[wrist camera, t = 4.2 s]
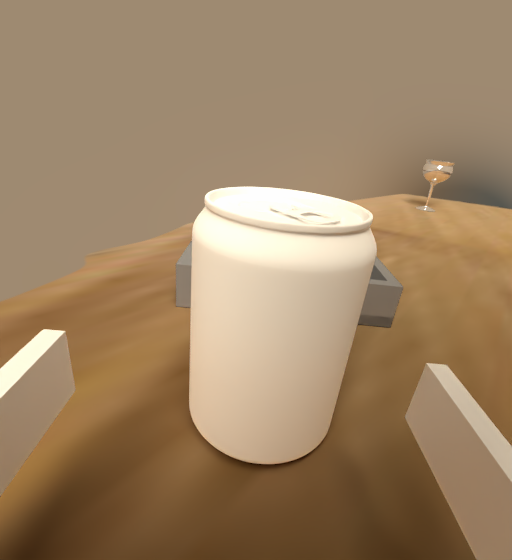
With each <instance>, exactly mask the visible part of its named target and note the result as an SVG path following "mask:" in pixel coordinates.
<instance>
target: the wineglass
mask: <svg viewBox="0 0 512 560" xmlns="http://www.w3.org/2000/svg"><path fill="white" fill-rule="evenodd" d="M426 161H427V163H426V165H425V166H424V168H423V175H424V176H425V178H426V179H427V180H428V181H430V184H431V188H430V192H429V195H428V199H427V202H426V206H419V207H415V208H417V209H420V210H424V211H435V210H434V209H432V208H430V207H428V206H427V205H428V202H429V199H430V196H431V194H432V191H433V188H434V186H435V185H436V184H437V183H439V182H442V181H445V180H446V179H448V178H449V177H450V175H451V174H452V172H453V165H454V164H455V163H452V162H444V161H437V160H426Z"/></svg>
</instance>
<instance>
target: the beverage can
mask: <svg viewBox="0 0 512 560" xmlns="http://www.w3.org/2000/svg"><path fill="white" fill-rule="evenodd" d="M205 205H206V206H205V208H204V209H203V210H202V212H201V213H200V214H199V215H198V217H197V218H196V220H195V222H194V225H193V229H192V268H191V324H190V380H189V408H190V413H191V417H192V420H193V422H194V424H195V426H196V428H197V429H198V431H199V432H200V433H201V435H202V436H203V437H204V438H205V439H206V440H207V441H208V442H209V443H210V444H211V445H212V446H214V447H215V448H216V449H218V450H219V451H221V452H223V453H225V454H226V455H228V456H231V457H233V458H236V459H238V460H242V461H245V462H250V463H256V464H279V463H285V462H289V461H292V460H295V459H298V458H300V457H302V456H304V455H306V454H308V453H309V452H311V451H312V450H313V449H315V448H316V447H317V446H318V445H319V444H320V443H321V442H322V440H323V439H324V437H325V436H326V434H327V432H328V429H329V426H330V423H331V420H332V416H333V412H334V409H335V405H336V401H337V398H338V394H339V390H340V387H341V383H342V379H343V376H344V372H345V368H346V365H347V361H348V357H349V354H350V350H351V346H352V343H353V339H354V335H355V332H356V328H357V324H358V321H359V317H360V313H361V310H362V306H363V302H364V299H365V295H366V291H367V288H368V284H369V280H370V277H371V273H372V269H373V265H374V262H375V258H376V253H377V247H376V242H375V239H374V236H373V234H372V232H371V229H370V225H371V224H372V220H373V215H372V214H371V213H370V212H369V211H368V210H367V209H365V208H363V207H361V206H359V205H356V204H354V203H351V202H348V201H345V200H341V199H337V198H333V197H329V196H325V195H320V194H315V193H309V192H302V191H296V190H288V189H279V188H266V187H230V188H222V189H217V190H213V191H210V192H209V193H207V194H206V196H205Z"/></svg>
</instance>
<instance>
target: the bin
mask: <svg viewBox="0 0 512 560" xmlns="http://www.w3.org/2000/svg"><path fill="white" fill-rule="evenodd" d="M191 268H192V241H191V242H190V244H189V245H188V247H187V248H186V250H185V251H184V253H183V254H182V256H181V257H180V259H179V260H178V262H177V263H176V306H179V307H189V308H191ZM402 290H403V286H402V285H401V284H400V283H399V282H398V280H397V279H396V278H395V277H394V276H393V275H392V274H391V272H390V271H389V270H388V269H387V268H386V267H385V266H384V265H383V263H382V262H381V261H380V260H379V259H378V258H377V257H376V258H375V262H374V265H373V269H372V273H371V277H370V280H369V284H368V288H367V291H366V295H365V299H364V302H363V306H362V310H361V313H360V317H359V321H358V324H360V325H370V326H380V327H391V324H392V321H393V318H394V315H395V312H396V309H397V306H398V303H399V299H400V296H401V293H402Z"/></svg>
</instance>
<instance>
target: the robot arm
mask: <svg viewBox="0 0 512 560" xmlns="http://www.w3.org/2000/svg"><path fill="white" fill-rule="evenodd" d="M74 392H75V384H74V378H73V373H72V367H71V361H70V355H69V350H68V344H67V338H66V333H65V331H57V330H46V329H43V330H42V331H41V332H40V333H39V334H38V335H37V336H36V337H34V338H33V339H32V340H31V341H30V342H29V343H28V344H27V345H26V346H25V347H24V348H23V349H21V350H20V351H19V352H18V353H17V354H16V355H15V356H14V357H13V358H12V359H11V360H9V361H8V362H7V363H6V364H5V365H4V366H3V367H2V368H1V369H0V496H1V495H2V493H3V492H4V491H5V489H6V488H7V486H8V485H9V484H10V482H11V481H12V479H13V478H14V477H15V475H16V474H17V472H18V471H19V469H20V468H21V467H22V465H23V464H24V462H25V461H26V460H27V458H28V457H29V455H30V454H31V452H32V451H33V450H34V448H35V447H36V445H37V444H38V443H39V441H40V440H41V438H42V437H43V436H44V434H45V433H46V431H47V430H48V428H49V427H50V426H51V424H52V423H53V421H54V420H55V419H56V417H57V416H58V414H59V413H60V412H61V410H62V409H63V407H64V406H65V404H66V403H67V402H68V400H69V399H70V397H71V396H72V395H73V393H74ZM405 419H406V421H407V423H408V425H409V427H410V429H411V431H412V433H413V435H414V437H415V439H416V441H417V443H418V445H419V447H420V449H421V451H422V453H423V455H424V457H425V459H426V461H427V463H428V465H429V467H430V469H431V471H432V473H433V475H434V477H435V479H436V481H437V483H438V485H439V487H440V489H441V491H442V492H443V494H444V496H445V498H446V500H447V502H448V504H449V506H450V508H451V510H452V512H453V514H454V516H455V518H456V520H457V522H458V524H459V526H460V528H461V530H462V532H463V534H464V536H465V538H466V540H467V542H468V544H469V546H470V548H471V550H472V552H473V554H474V556H475V558H476V560H512V446H511V445H510V444H509V443H508V441H507V440H506V439H505V438H504V436H503V435H502V434H501V433H500V431H499V430H498V429H497V427H496V426H495V425H494V424H493V422H492V421H491V420H490V419H489V417H488V416H487V415H486V414H485V412H484V411H483V410H482V409H481V407H480V406H479V405H478V404H477V402H476V401H475V400H474V399H473V397H472V396H471V395H470V394H469V392H468V391H467V390H466V389H465V387H464V386H463V385H462V383H461V382H460V381H459V380H458V378H457V377H456V376H455V375H454V373H453V372H452V371H451V370H450V368H449V367H448V366H447V365H443V364H431V363H426V365H425V368H424V370H423V373H422V375H421V378H420V380H419V383H418V385H417V388H416V390H415V393H414V395H413V398H412V400H411V403H410V405H409V408H408V410H407V413H406V415H405Z"/></svg>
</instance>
